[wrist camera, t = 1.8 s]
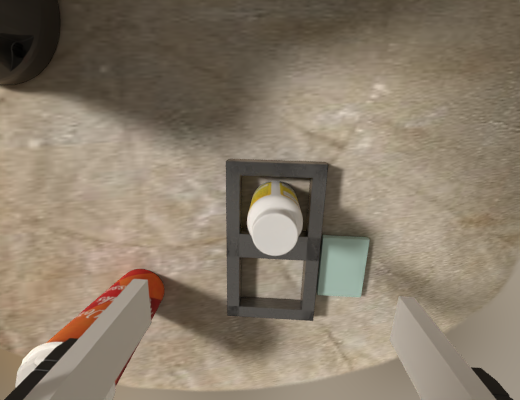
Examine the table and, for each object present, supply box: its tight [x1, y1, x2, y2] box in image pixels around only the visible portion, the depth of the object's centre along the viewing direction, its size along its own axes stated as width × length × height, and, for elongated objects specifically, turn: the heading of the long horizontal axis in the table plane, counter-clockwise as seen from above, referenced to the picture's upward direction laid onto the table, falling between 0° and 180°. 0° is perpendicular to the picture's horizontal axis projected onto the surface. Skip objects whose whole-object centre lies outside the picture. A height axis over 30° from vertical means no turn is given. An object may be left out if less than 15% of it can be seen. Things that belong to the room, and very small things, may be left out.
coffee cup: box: [16, 269, 164, 400], centre depth 29 cm, size 8×8×15 cm
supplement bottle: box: [247, 181, 303, 256], centre depth 27 cm, size 5×5×10 cm
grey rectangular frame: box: [226, 159, 328, 321], centre depth 32 cm, size 20×11×2 cm, turn 178°
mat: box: [317, 235, 370, 297], centre depth 33 cm, size 8×6×1 cm
